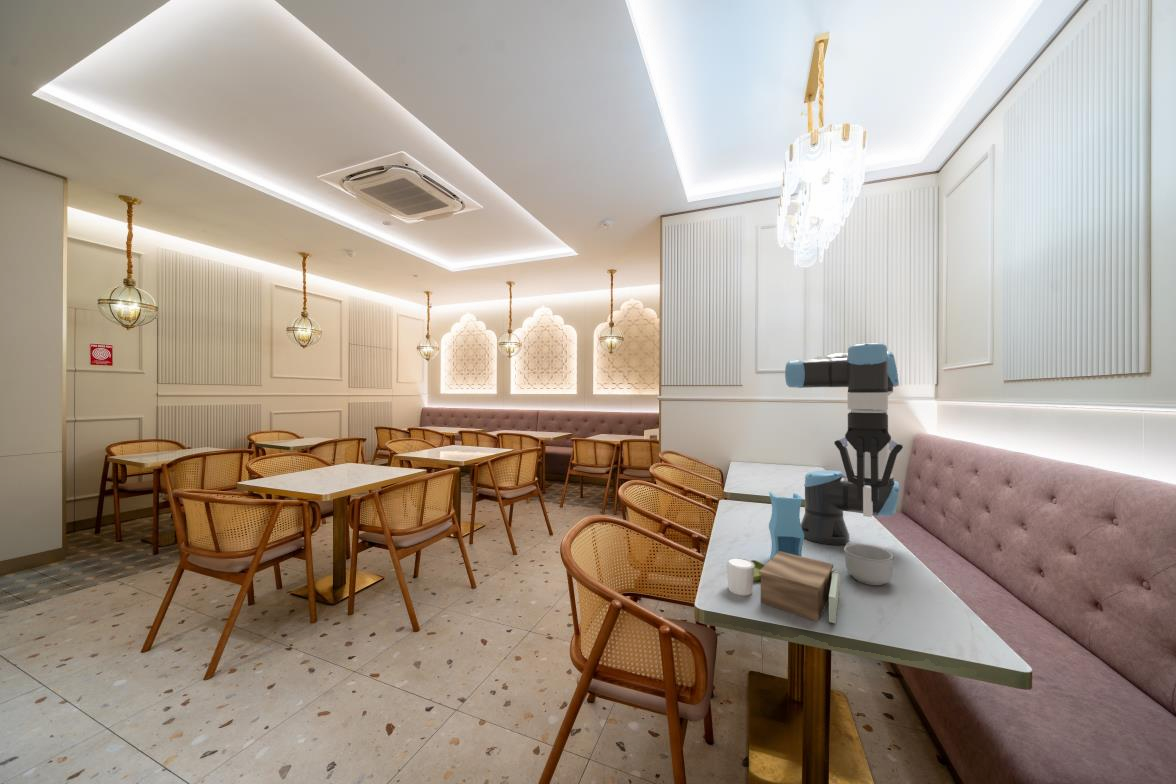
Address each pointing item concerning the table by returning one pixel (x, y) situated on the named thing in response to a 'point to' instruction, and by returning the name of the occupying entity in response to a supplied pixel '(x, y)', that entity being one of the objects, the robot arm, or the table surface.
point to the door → (833, 596)
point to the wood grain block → (796, 584)
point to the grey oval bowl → (869, 563)
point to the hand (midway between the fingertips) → (867, 515)
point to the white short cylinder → (740, 575)
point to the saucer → (757, 570)
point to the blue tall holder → (786, 525)
